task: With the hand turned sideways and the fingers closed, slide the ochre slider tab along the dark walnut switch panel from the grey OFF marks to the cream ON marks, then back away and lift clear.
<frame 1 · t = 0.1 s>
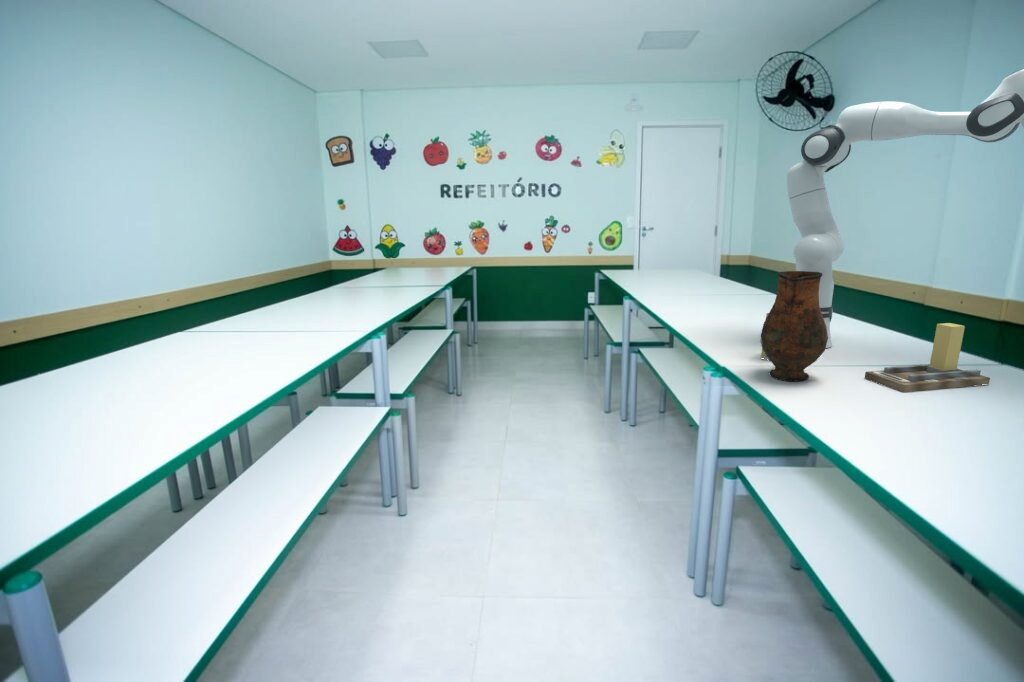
candy box: (772, 358, 162), on the table
slider tab: (946, 349, 134), point 9 cm above the table, slide at 0.0 cm
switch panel: (924, 381, 136), on the table
brown vase: (790, 375, 145), on the table
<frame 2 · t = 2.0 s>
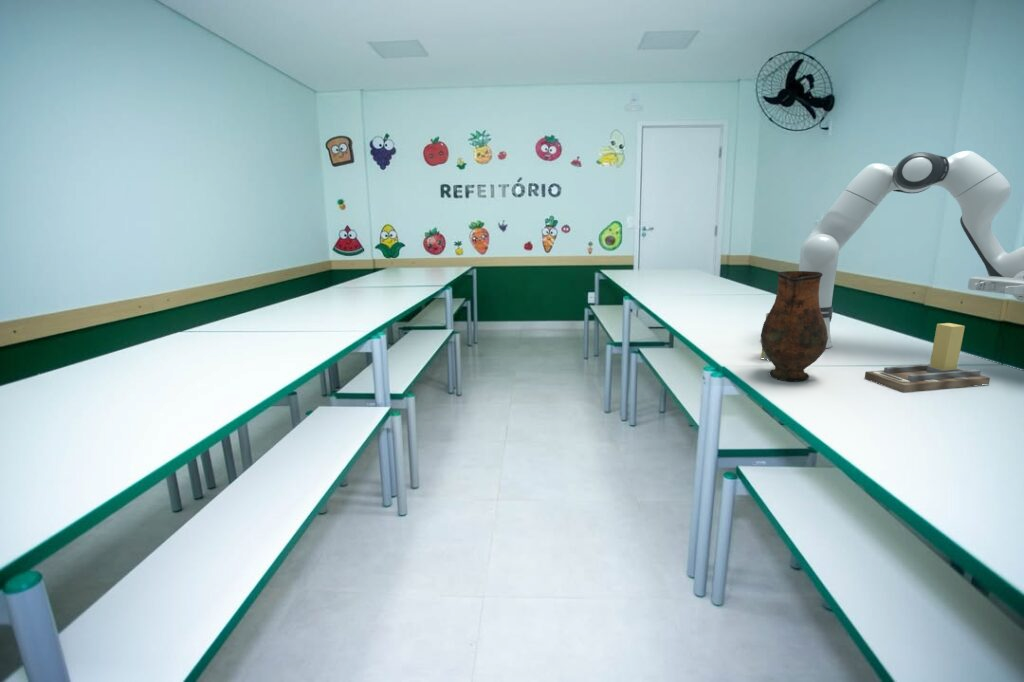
hand: (989, 288, 132), 25 cm above the table, tool horizontal, fingers open, 5 cm apart
nothing on the table moved.
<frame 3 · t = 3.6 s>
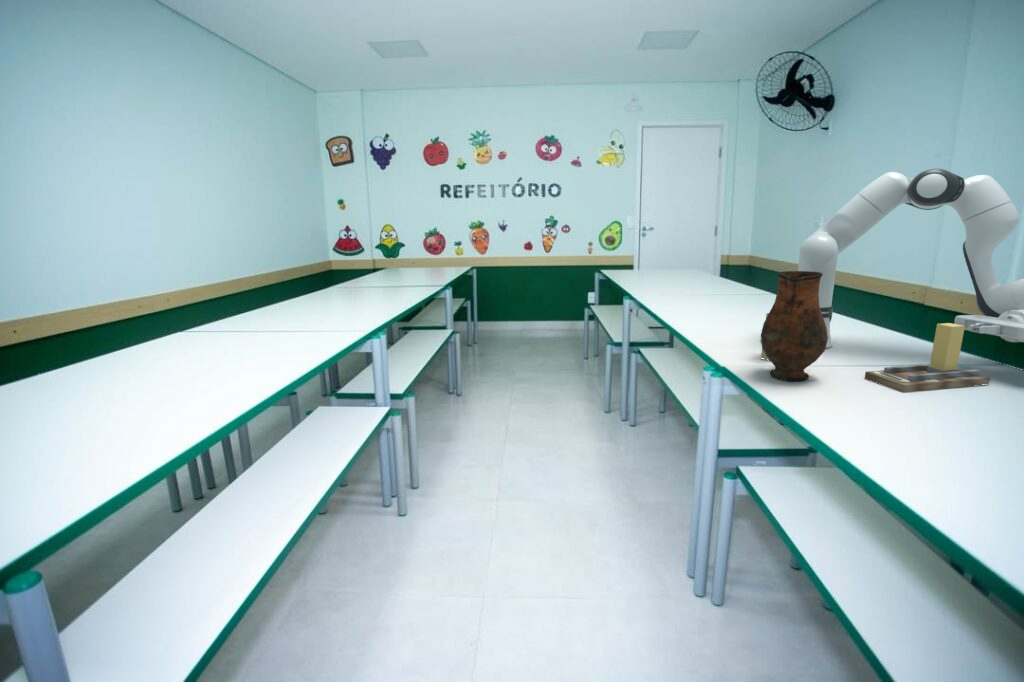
hand: (975, 329, 134), 14 cm above the table, tool horizontal, fingers closed
nothing on the table moved.
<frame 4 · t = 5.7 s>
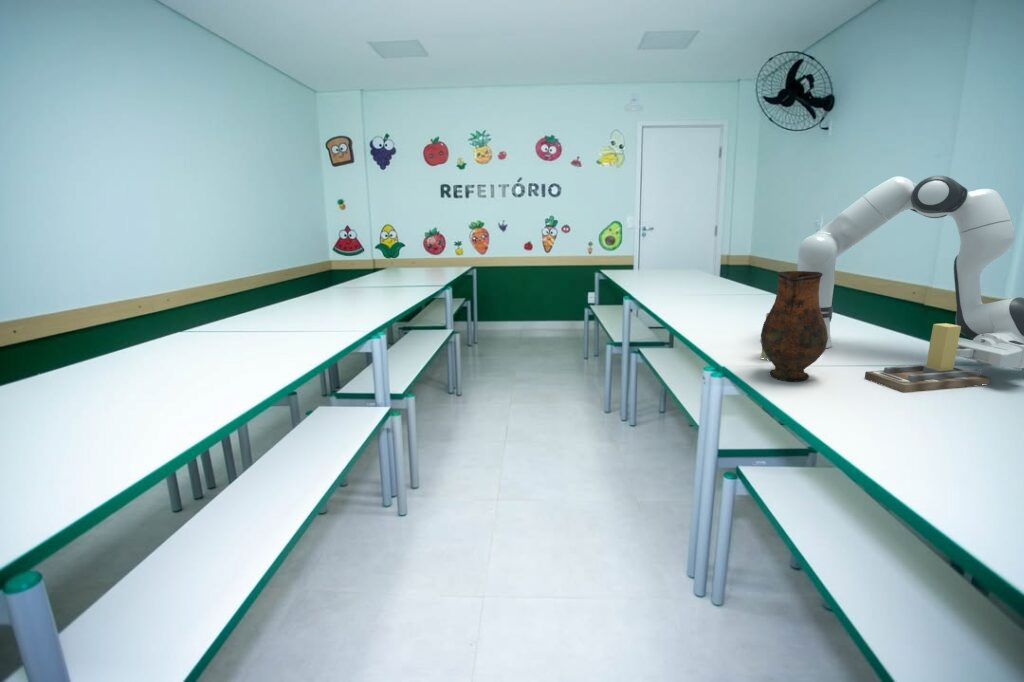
hand: (948, 352, 135), 8 cm above the table, tool horizontal, fingers closed, pressing on slider tab
slider tab: (942, 349, 134), point 9 cm above the table, slide at 1.2 cm, touching gripper
everything else where it was.
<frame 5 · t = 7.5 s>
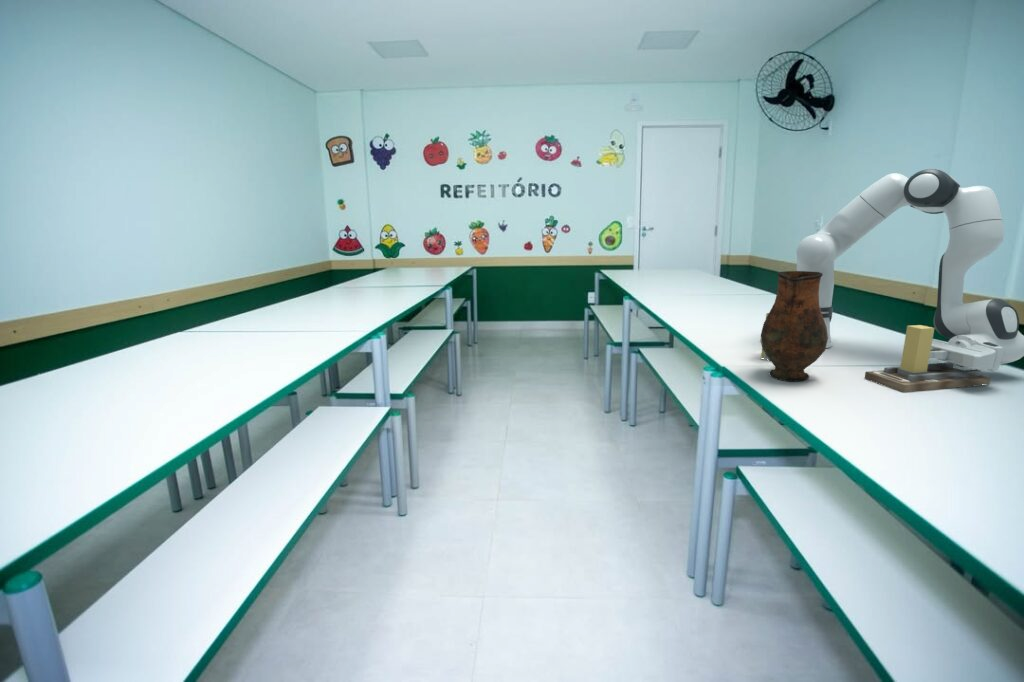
hand: (922, 354, 134), 8 cm above the table, tool horizontal, fingers closed, pressing on slider tab
slider tab: (916, 351, 133), point 9 cm above the table, slide at 9.3 cm, touching gripper
everything else where it was.
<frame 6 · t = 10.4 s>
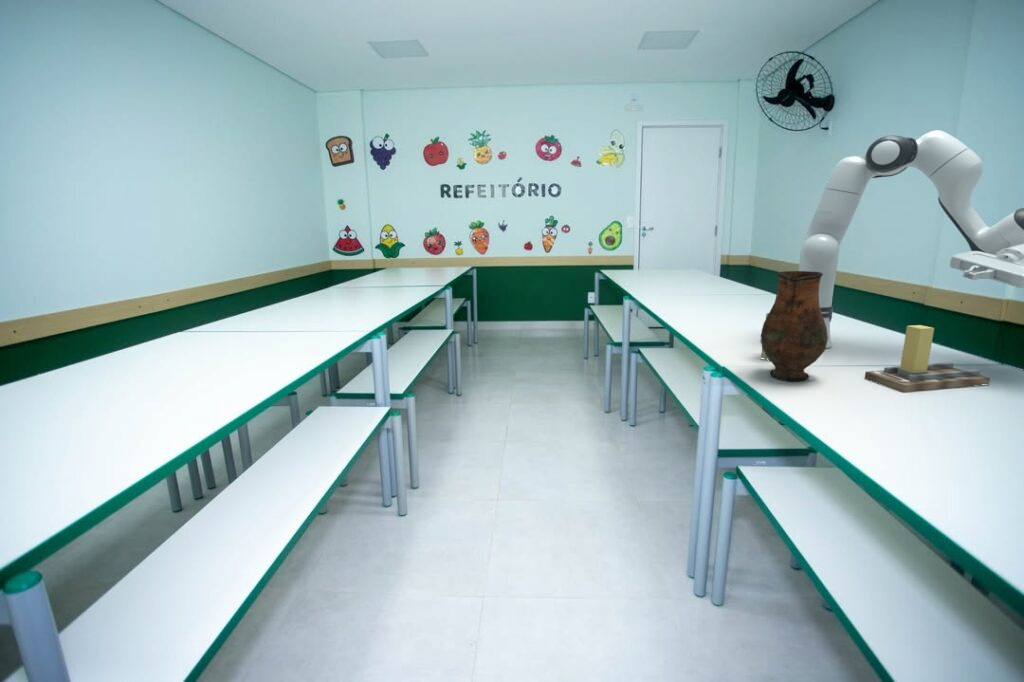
hand: (968, 275, 133), 28 cm above the table, tool horizontal, fingers closed
slider tab: (916, 351, 133), point 9 cm above the table, slide at 9.4 cm
everything else where it was.
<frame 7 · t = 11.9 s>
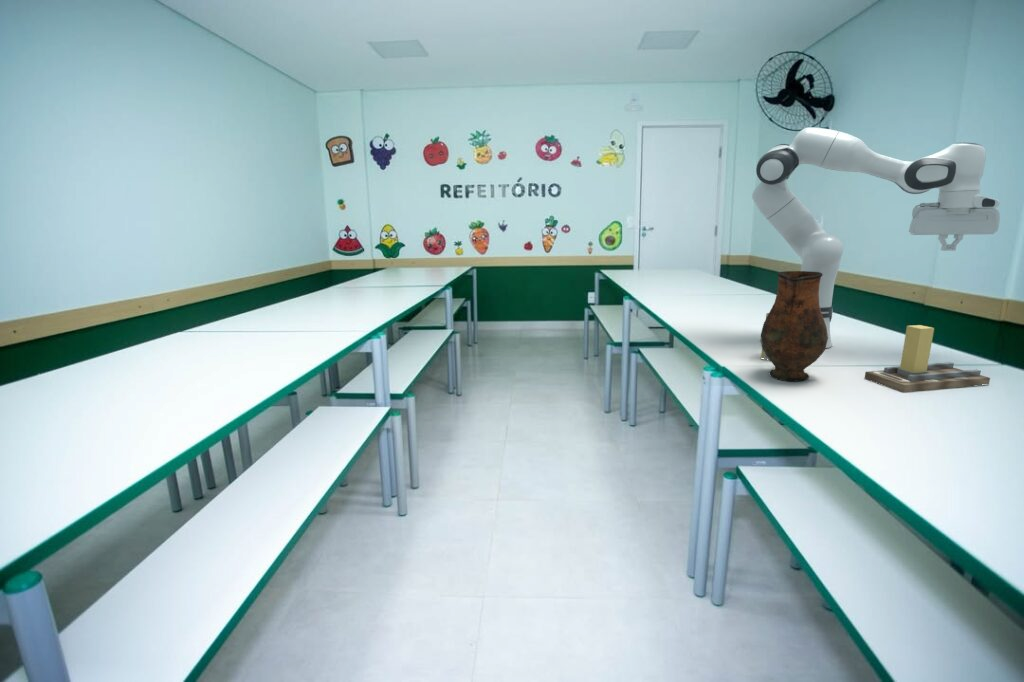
hand: (948, 250, 147), 34 cm above the table, tool pointing down, fingers closed
nothing on the table moved.
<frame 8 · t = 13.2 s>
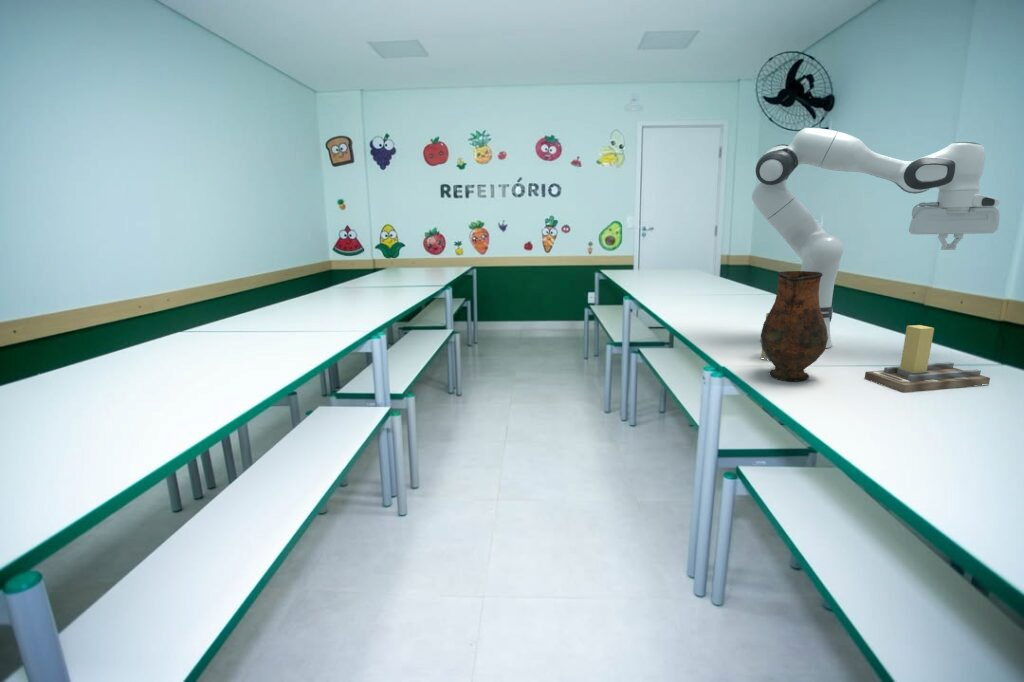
hand: (948, 249, 147), 34 cm above the table, tool pointing down, fingers closed
nothing on the table moved.
at the end: slider tab slide at 9.4 cm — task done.
